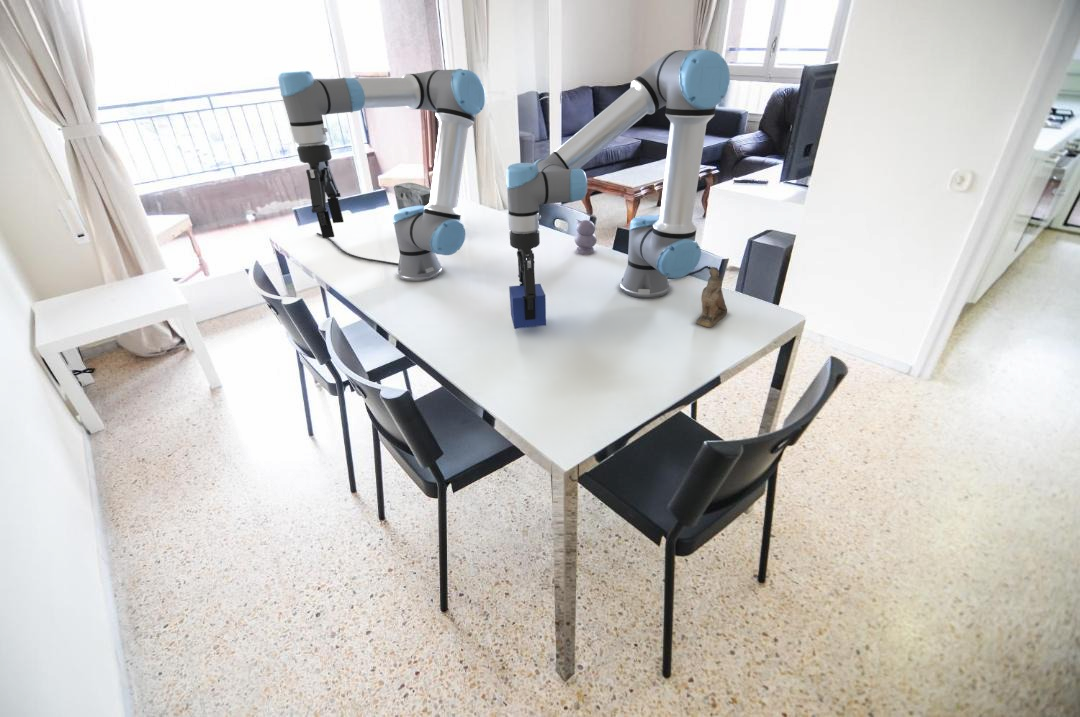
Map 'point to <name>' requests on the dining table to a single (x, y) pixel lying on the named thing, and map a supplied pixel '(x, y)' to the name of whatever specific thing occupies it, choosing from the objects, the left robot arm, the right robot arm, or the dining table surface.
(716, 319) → the worn brown figurine
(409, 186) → the concrete block
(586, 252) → the grey owl figurine
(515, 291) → the block
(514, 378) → the dining table surface
